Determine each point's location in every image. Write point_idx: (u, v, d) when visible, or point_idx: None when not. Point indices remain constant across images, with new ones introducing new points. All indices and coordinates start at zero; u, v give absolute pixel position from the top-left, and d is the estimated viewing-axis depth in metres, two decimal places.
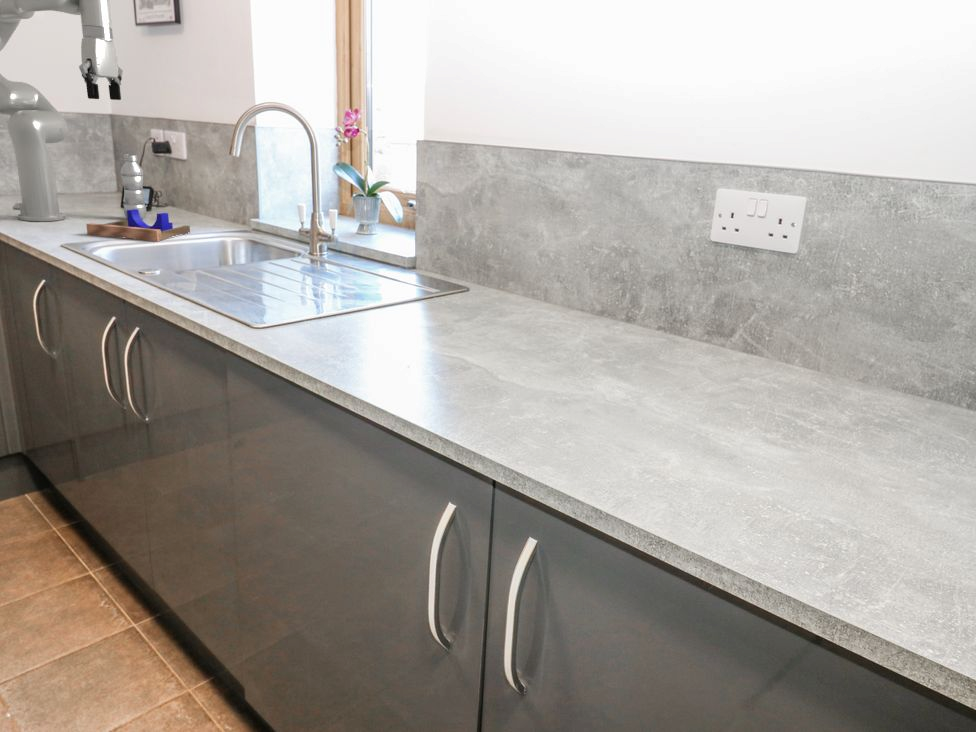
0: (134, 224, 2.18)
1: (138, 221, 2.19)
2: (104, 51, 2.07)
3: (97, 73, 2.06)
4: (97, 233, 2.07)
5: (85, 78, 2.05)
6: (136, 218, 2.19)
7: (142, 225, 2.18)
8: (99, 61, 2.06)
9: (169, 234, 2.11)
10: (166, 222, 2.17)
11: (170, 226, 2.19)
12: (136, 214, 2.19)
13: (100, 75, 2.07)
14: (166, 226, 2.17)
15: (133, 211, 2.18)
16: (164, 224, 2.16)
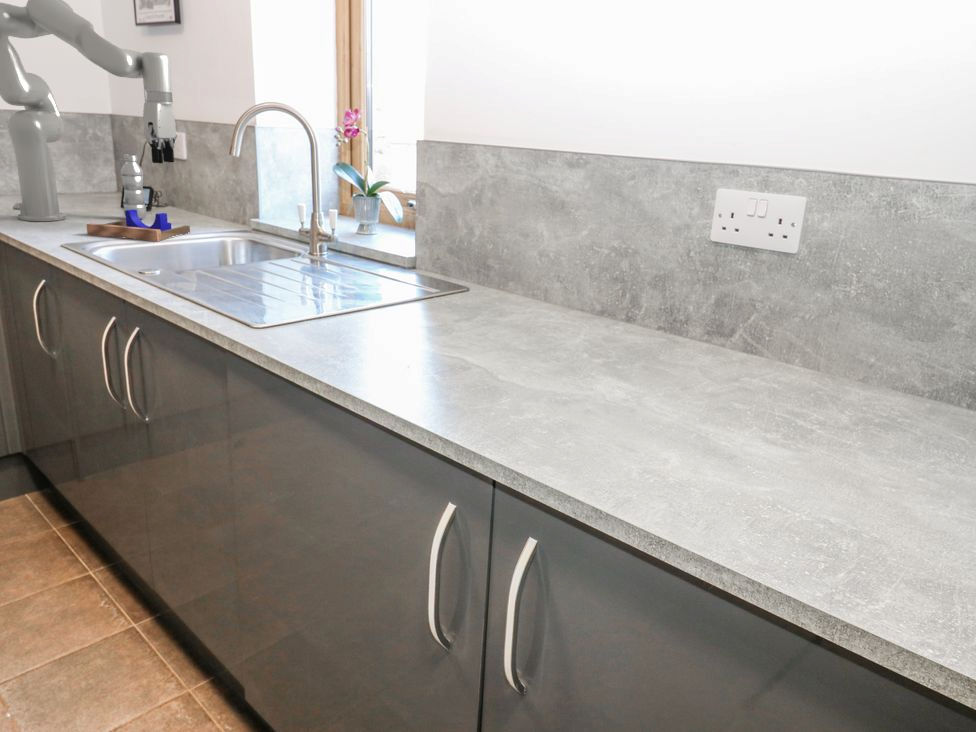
0: (132, 224, 2.17)
1: (136, 221, 2.18)
2: (165, 114, 2.16)
3: (158, 136, 2.15)
4: (97, 233, 2.07)
5: (151, 144, 2.16)
6: (135, 218, 2.18)
7: (140, 225, 2.18)
8: (160, 124, 2.15)
9: (169, 234, 2.11)
10: (165, 222, 2.16)
11: (169, 226, 2.18)
12: (134, 214, 2.18)
13: (160, 137, 2.16)
14: (165, 226, 2.17)
15: (131, 211, 2.17)
16: (163, 224, 2.16)
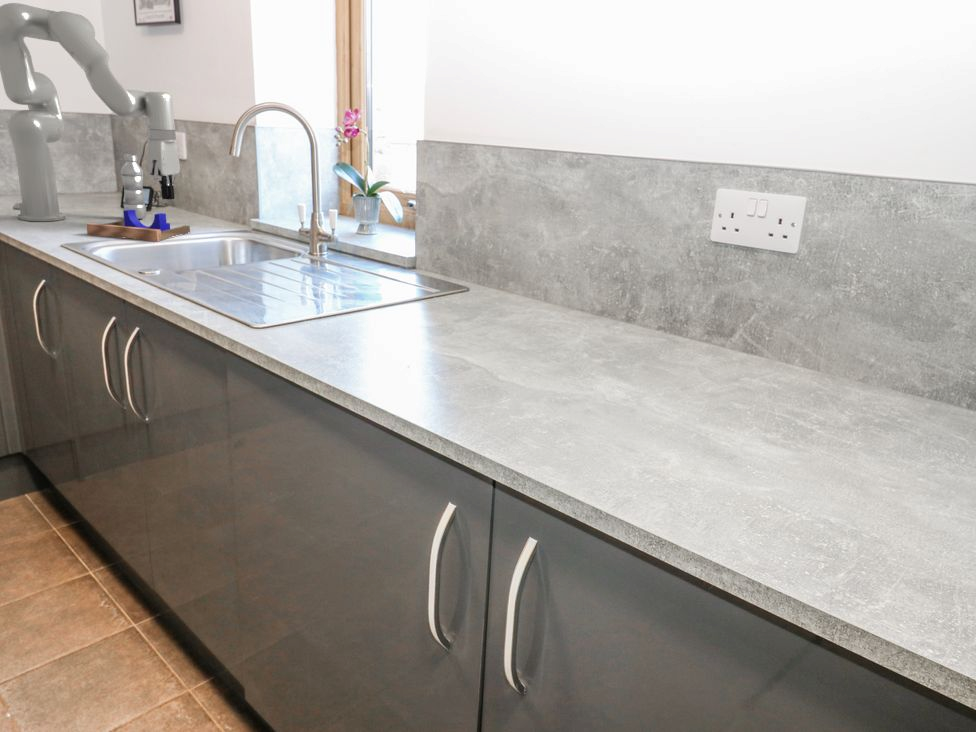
0: (131, 225, 2.17)
1: (135, 222, 2.17)
2: (168, 151, 2.19)
3: (162, 173, 2.18)
4: (97, 233, 2.07)
5: (160, 182, 2.21)
6: (133, 218, 2.18)
7: (139, 226, 2.17)
8: (164, 161, 2.18)
9: (169, 234, 2.11)
10: (164, 223, 2.16)
11: (168, 226, 2.18)
12: (133, 215, 2.18)
13: (165, 174, 2.20)
14: (164, 226, 2.16)
15: (130, 212, 2.17)
16: (162, 224, 2.16)
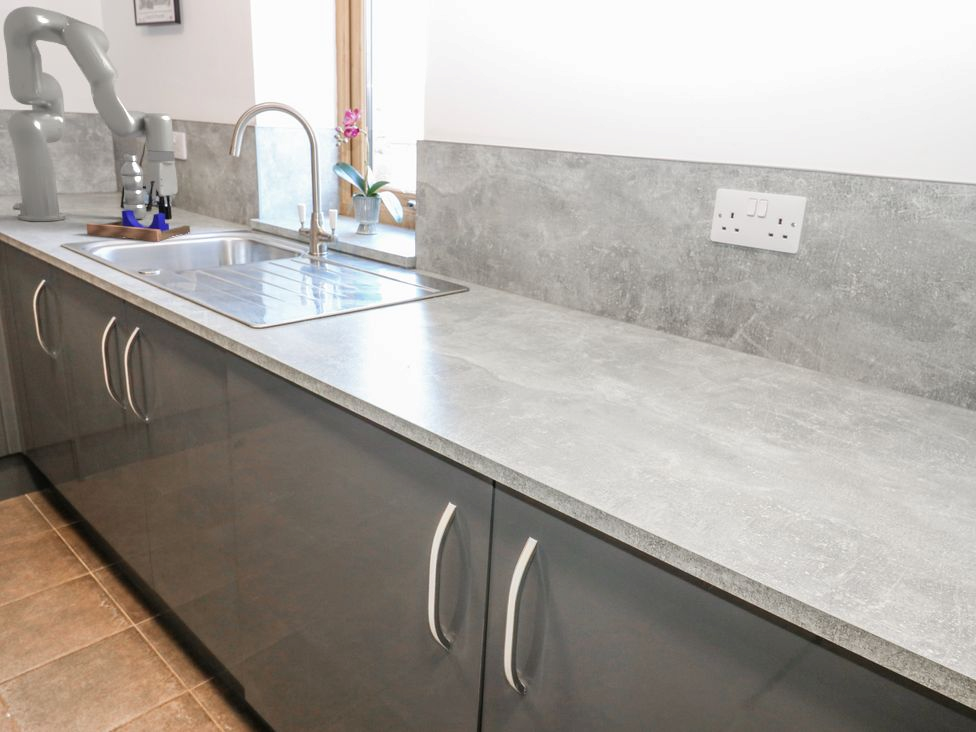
0: (129, 225, 2.16)
1: (133, 222, 2.17)
2: (167, 172, 2.20)
3: (160, 194, 2.19)
4: (97, 233, 2.07)
5: (158, 202, 2.22)
6: (132, 219, 2.17)
7: (138, 226, 2.17)
8: (162, 182, 2.19)
9: (169, 234, 2.11)
10: (163, 223, 2.16)
11: (166, 227, 2.18)
12: (131, 215, 2.17)
13: (163, 195, 2.20)
14: (163, 226, 2.16)
15: (128, 212, 2.16)
16: (161, 224, 2.15)
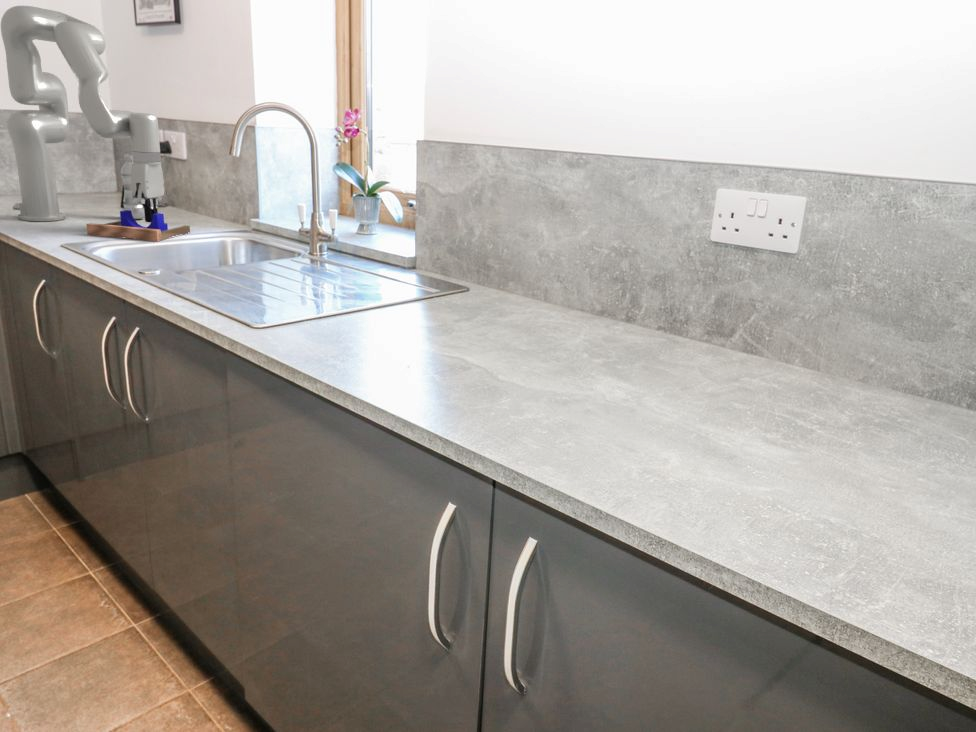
0: (128, 225, 2.16)
1: (132, 222, 2.16)
2: (153, 174, 2.13)
3: (146, 196, 2.12)
4: (97, 233, 2.07)
5: (144, 205, 2.15)
6: (130, 219, 2.16)
7: (136, 226, 2.16)
8: (148, 184, 2.12)
9: (169, 234, 2.11)
10: (162, 223, 2.15)
11: (165, 227, 2.17)
12: (129, 215, 2.16)
13: (148, 197, 2.14)
14: (162, 226, 2.16)
15: (126, 212, 2.15)
16: (160, 224, 2.15)
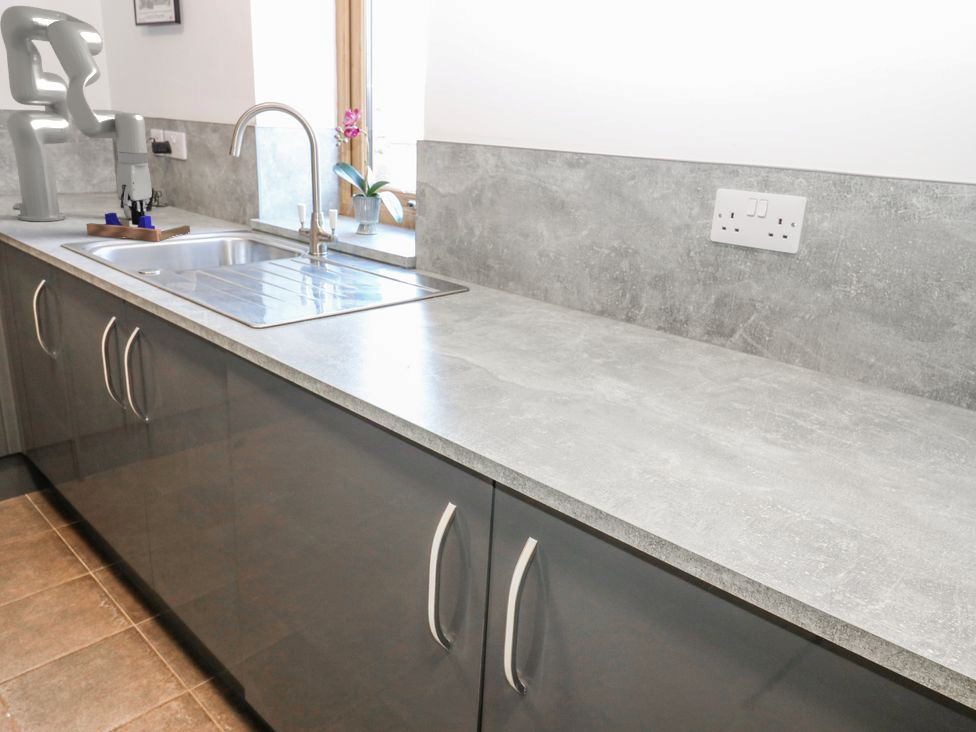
0: None
1: (117, 225, 2.10)
2: (139, 175, 2.07)
3: (132, 198, 2.06)
4: (97, 233, 2.07)
5: (130, 207, 2.09)
6: (115, 222, 2.10)
7: None
8: (134, 186, 2.06)
9: (169, 234, 2.11)
10: (149, 225, 2.10)
11: None
12: (114, 218, 2.10)
13: (135, 200, 2.08)
14: None
15: (112, 215, 2.09)
16: (148, 227, 2.09)
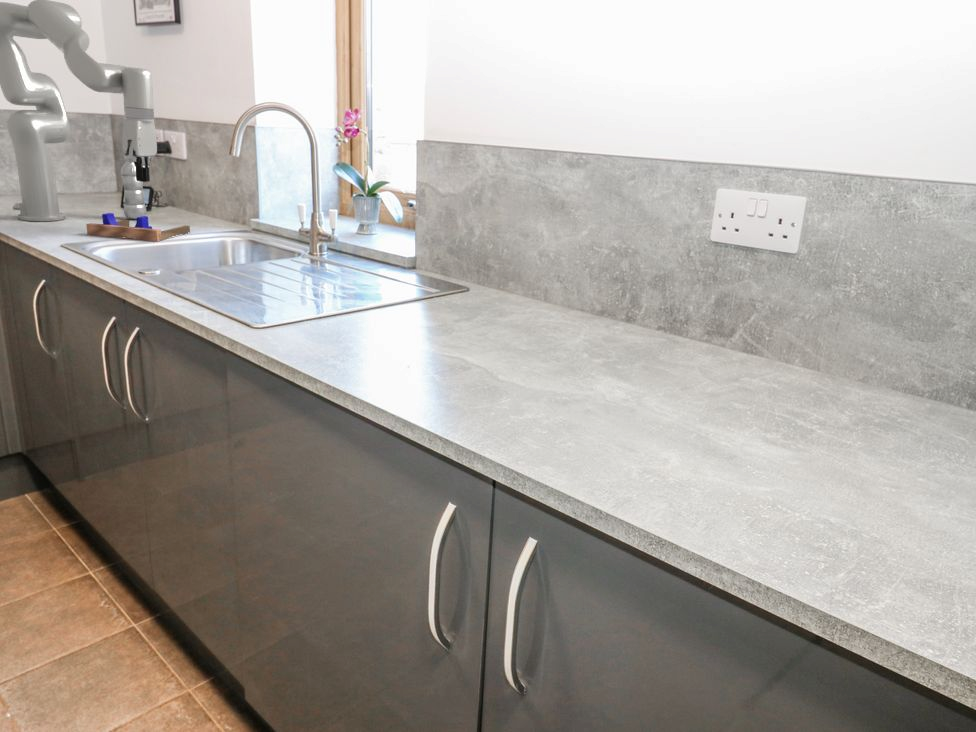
0: None
1: None
2: (145, 131, 2.08)
3: (137, 154, 2.07)
4: (97, 233, 2.07)
5: (135, 163, 2.10)
6: (113, 222, 2.09)
7: None
8: (140, 142, 2.07)
9: (169, 234, 2.11)
10: (146, 226, 2.09)
11: None
12: (112, 218, 2.10)
13: (140, 155, 2.08)
14: None
15: (109, 215, 2.08)
16: None
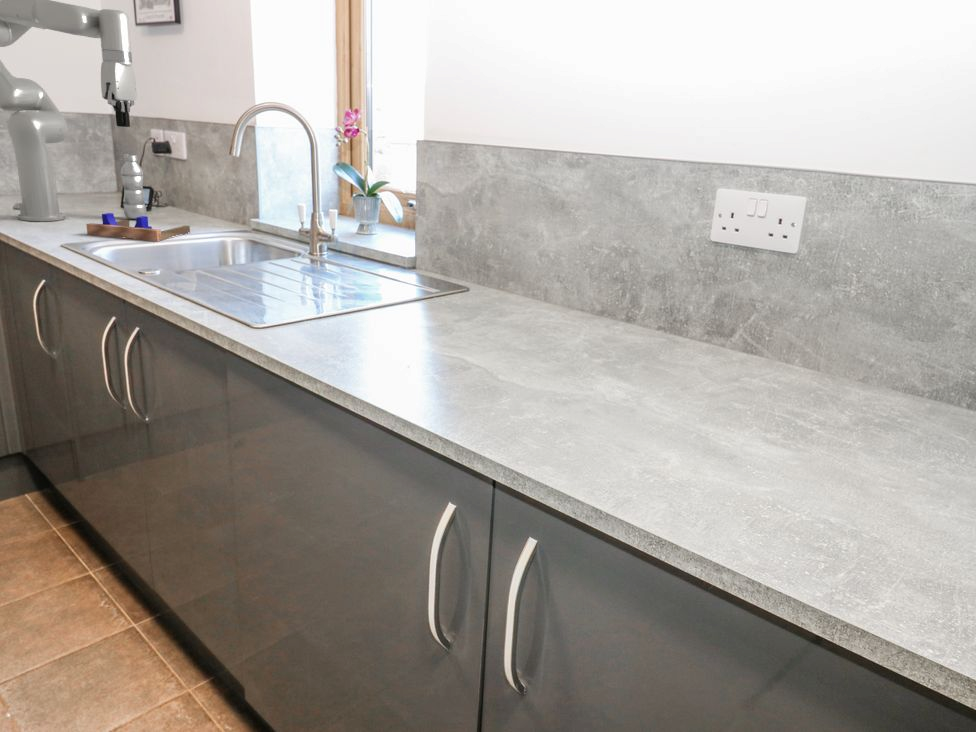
0: None
1: None
2: (123, 75, 2.08)
3: (116, 97, 2.07)
4: (97, 233, 2.07)
5: (115, 107, 2.10)
6: (112, 222, 2.09)
7: None
8: (118, 85, 2.07)
9: (169, 234, 2.11)
10: (146, 226, 2.09)
11: None
12: (111, 218, 2.10)
13: (119, 99, 2.08)
14: None
15: (109, 215, 2.08)
16: None
